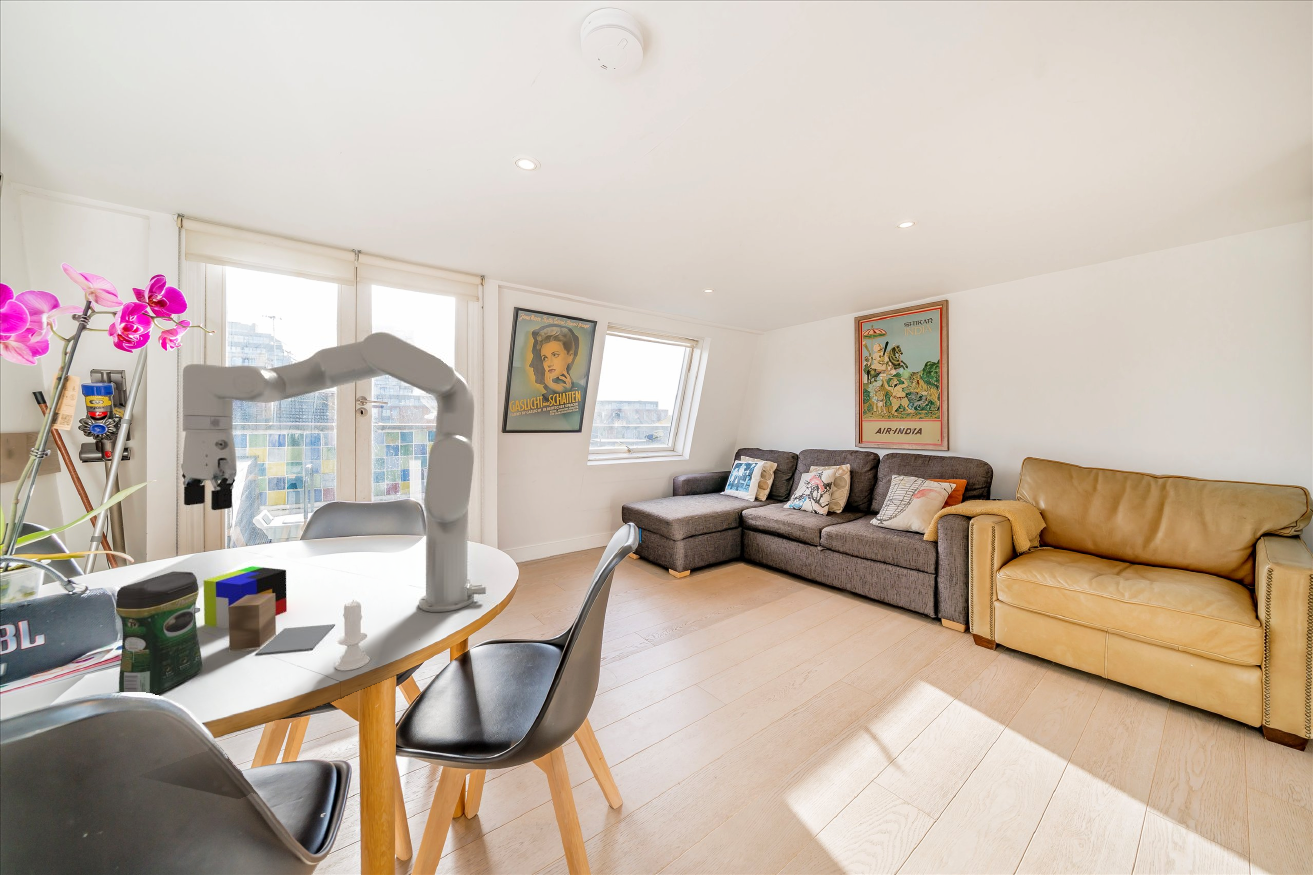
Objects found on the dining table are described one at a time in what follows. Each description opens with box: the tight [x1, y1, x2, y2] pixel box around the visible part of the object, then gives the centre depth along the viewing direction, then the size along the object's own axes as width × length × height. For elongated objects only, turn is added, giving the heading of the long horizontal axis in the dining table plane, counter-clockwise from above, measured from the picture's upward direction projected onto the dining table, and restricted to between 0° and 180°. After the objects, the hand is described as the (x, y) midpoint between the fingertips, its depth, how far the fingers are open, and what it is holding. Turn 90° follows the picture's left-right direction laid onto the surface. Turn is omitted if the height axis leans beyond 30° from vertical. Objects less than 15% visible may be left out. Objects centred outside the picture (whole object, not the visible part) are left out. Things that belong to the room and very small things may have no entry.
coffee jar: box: [115, 570, 203, 695], centre depth 80 cm, size 10×8×19 cm
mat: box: [255, 623, 336, 656], centre depth 97 cm, size 10×11×1 cm
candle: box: [335, 599, 370, 672], centre depth 88 cm, size 5×5×12 cm
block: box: [228, 593, 277, 653], centre depth 94 cm, size 5×6×9 cm
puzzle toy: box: [203, 566, 288, 629], centre depth 106 cm, size 10×10×10 cm
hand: (207, 506), depth 97 cm, fingers open, 9 cm apart
